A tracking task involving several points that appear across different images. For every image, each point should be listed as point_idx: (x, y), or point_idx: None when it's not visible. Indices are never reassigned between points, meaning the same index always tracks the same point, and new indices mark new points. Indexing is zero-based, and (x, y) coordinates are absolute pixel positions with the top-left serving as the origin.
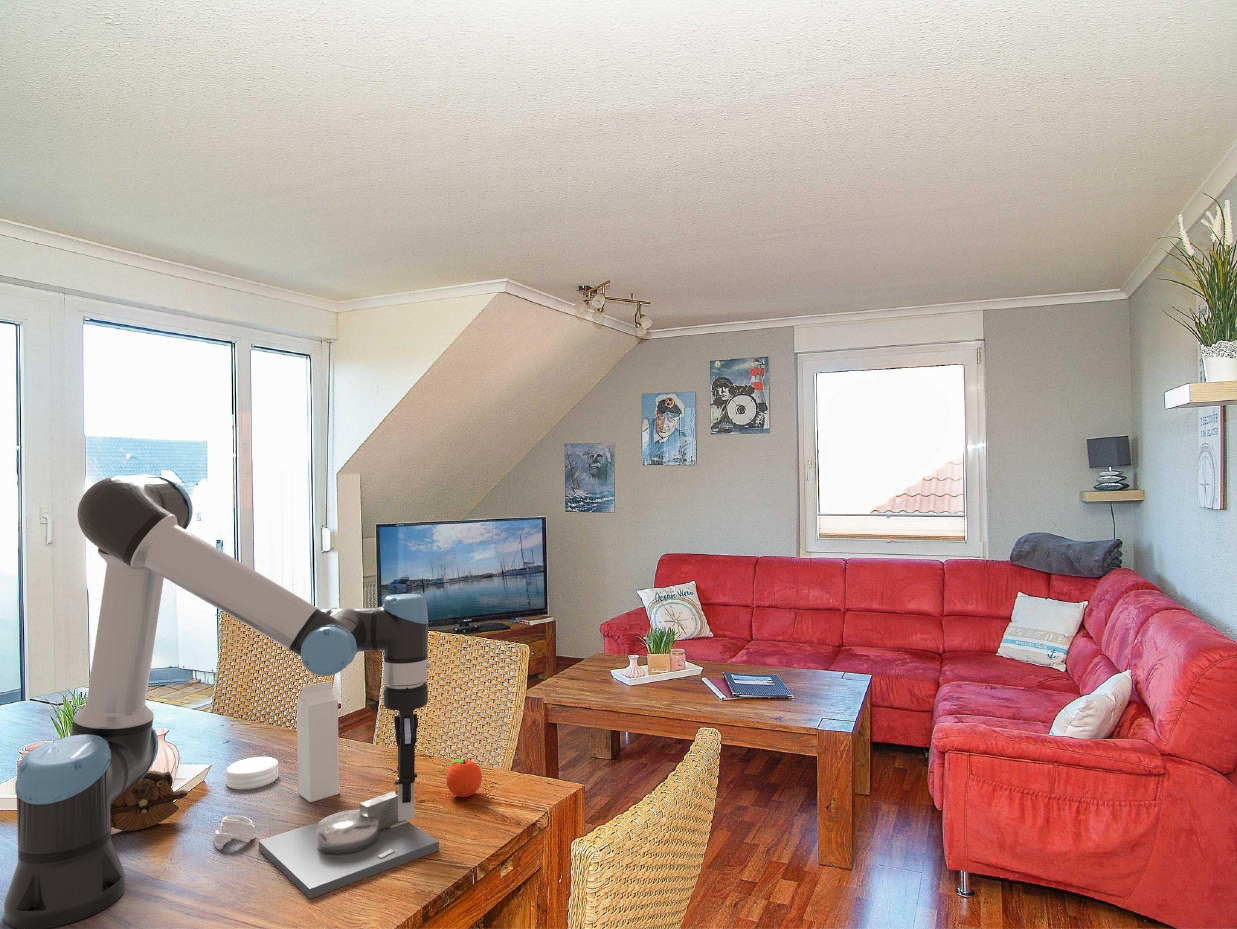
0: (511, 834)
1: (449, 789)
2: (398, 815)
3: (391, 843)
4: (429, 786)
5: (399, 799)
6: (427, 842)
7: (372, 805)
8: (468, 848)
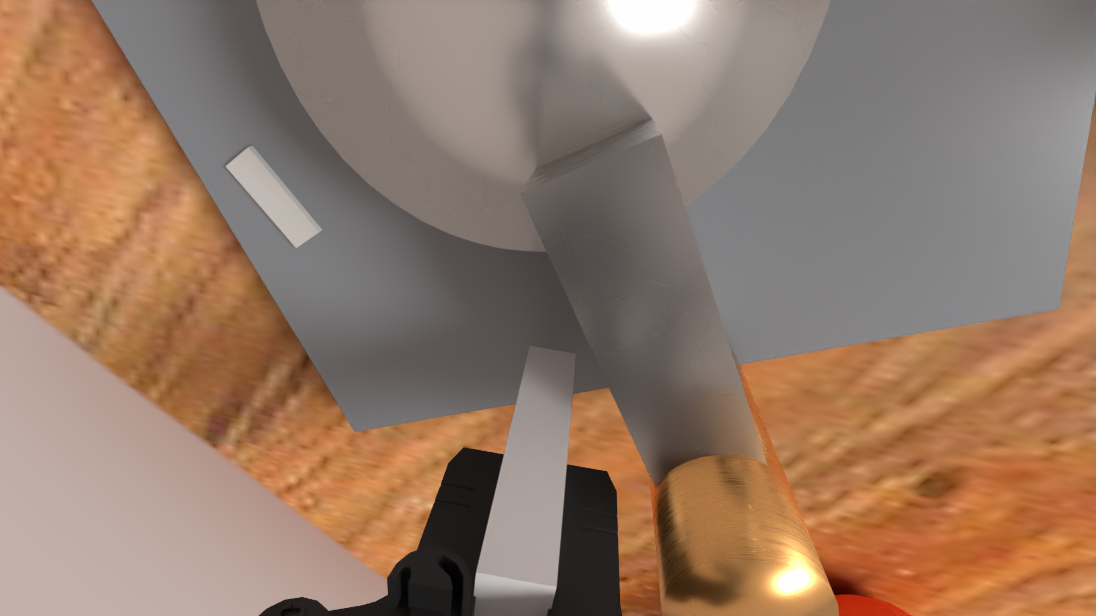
0: None
1: (867, 611)
2: (526, 367)
3: (404, 251)
4: (1092, 552)
5: (507, 451)
6: (357, 393)
7: (547, 245)
8: (355, 484)
